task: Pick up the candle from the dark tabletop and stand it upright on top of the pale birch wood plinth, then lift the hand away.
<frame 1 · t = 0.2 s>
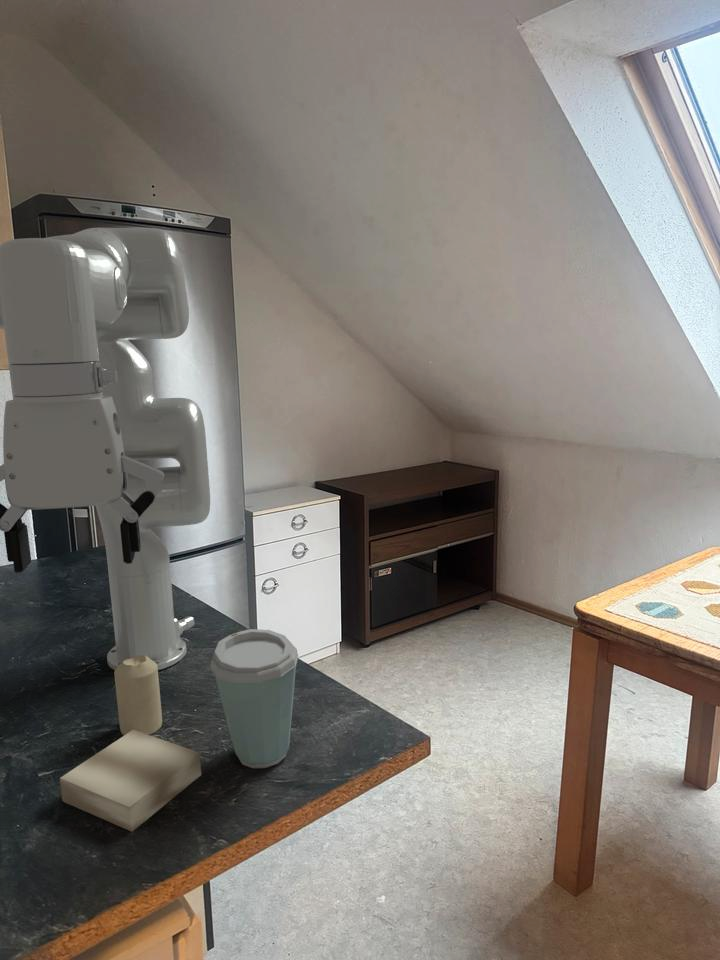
hand: (77, 563, 66), 31 cm above the table, tool pointing down, fingers open, 9 cm apart
plinth: (133, 787, 82), on the table
disposable coffee cup: (260, 756, 87), on the table
candle: (141, 728, 94), on the table
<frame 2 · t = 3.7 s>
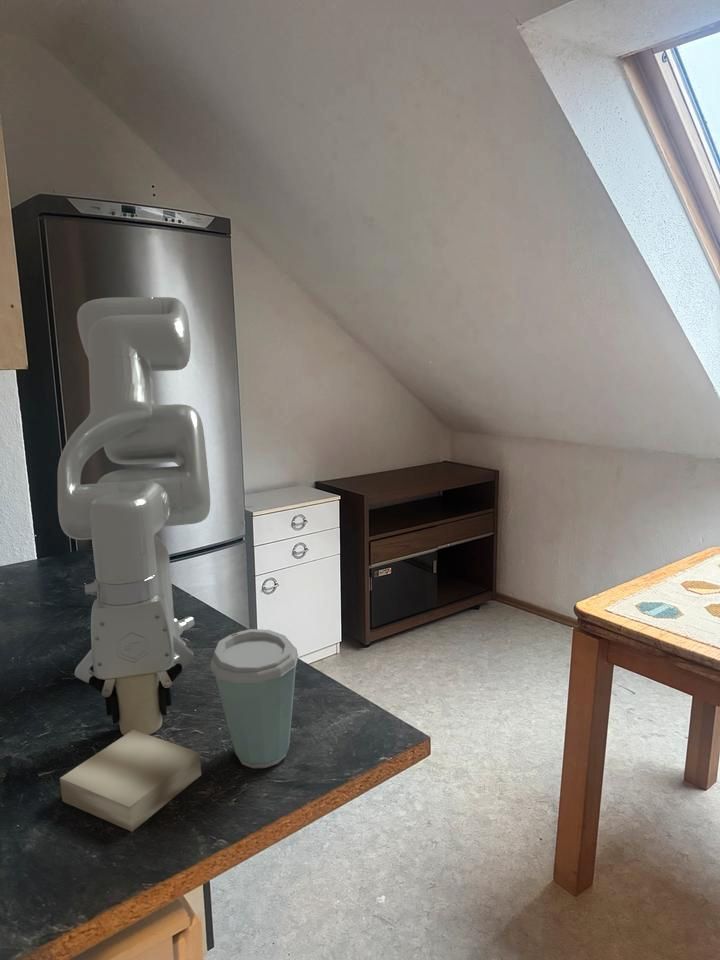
hand: (140, 713, 94), 2 cm above the table, tool pointing down, fingers closed on candle, 5 cm apart
candle: (141, 728, 94), on the table, touching gripper
everything else where it was.
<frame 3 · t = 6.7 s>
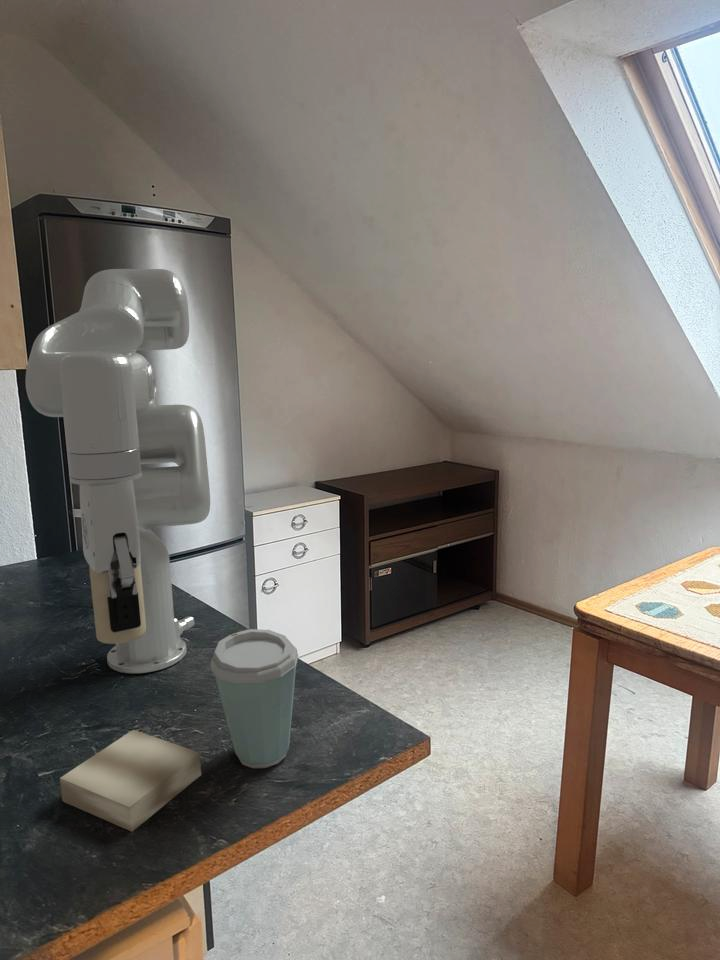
hand: (120, 618, 80), 20 cm above the table, tool pointing down, fingers closed on candle, 5 cm apart
candle: (121, 636, 81), point 18 cm above the table, touching gripper
everything else where it was.
when the fingers open (6 cm above the table, at t = 10.0 s): candle stays where it is, resting on plinth.
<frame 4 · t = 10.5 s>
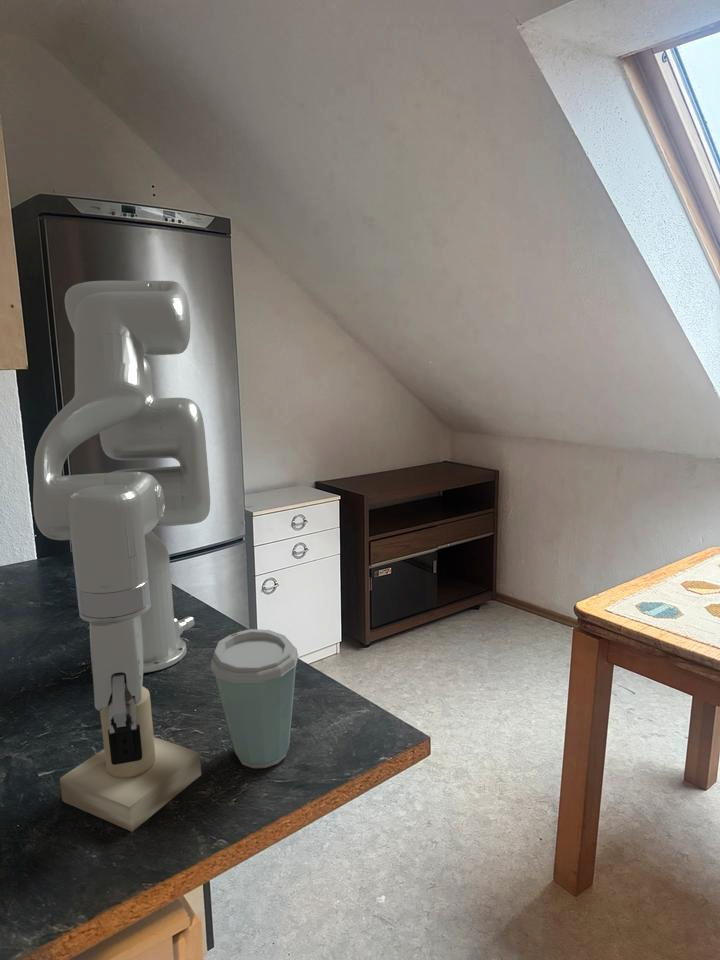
hand: (128, 737, 80), 7 cm above the table, tool pointing down, fingers open, 9 cm apart
candle: (131, 765, 81), point 3 cm above the table, touching plinth
everything else where it was.
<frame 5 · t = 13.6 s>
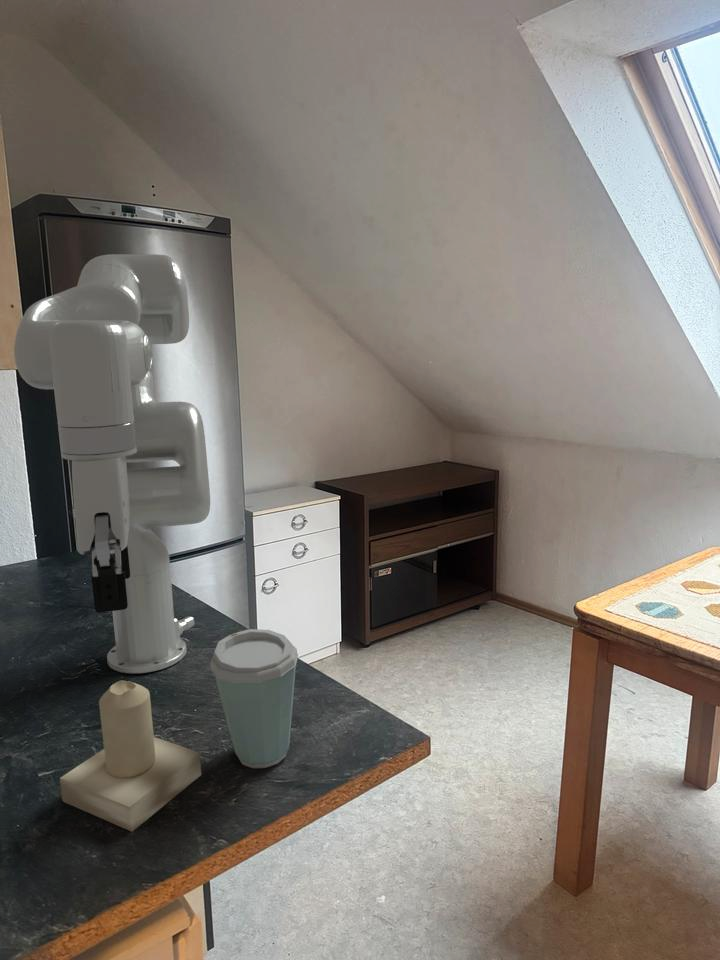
hand: (114, 593, 77), 24 cm above the table, tool pointing down, fingers open, 9 cm apart
nothing on the table moved.
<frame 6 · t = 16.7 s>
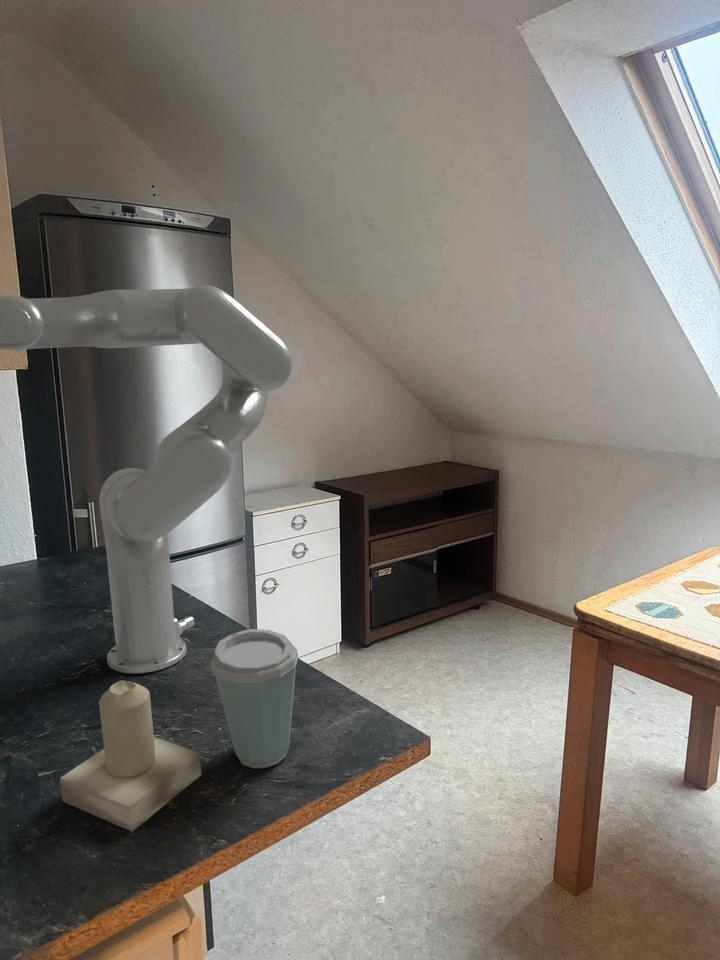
nothing on the table moved.
at the end: candle 0.1 cm off-centre on the plinth, point 2.8 cm above the plinth's base; candle tilted 0°; candle touching plinth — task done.
